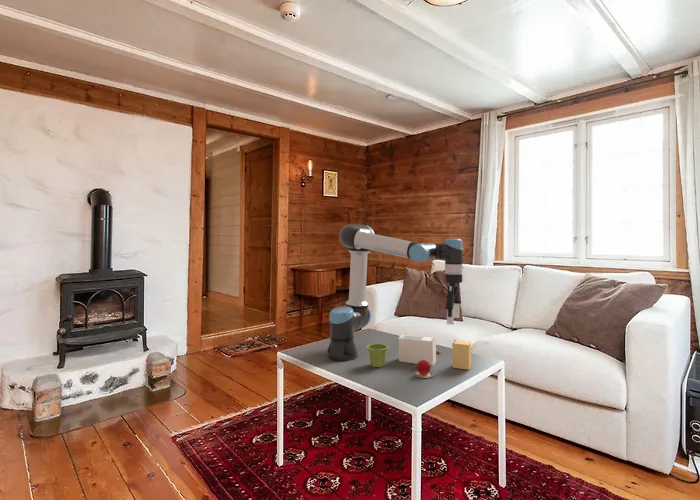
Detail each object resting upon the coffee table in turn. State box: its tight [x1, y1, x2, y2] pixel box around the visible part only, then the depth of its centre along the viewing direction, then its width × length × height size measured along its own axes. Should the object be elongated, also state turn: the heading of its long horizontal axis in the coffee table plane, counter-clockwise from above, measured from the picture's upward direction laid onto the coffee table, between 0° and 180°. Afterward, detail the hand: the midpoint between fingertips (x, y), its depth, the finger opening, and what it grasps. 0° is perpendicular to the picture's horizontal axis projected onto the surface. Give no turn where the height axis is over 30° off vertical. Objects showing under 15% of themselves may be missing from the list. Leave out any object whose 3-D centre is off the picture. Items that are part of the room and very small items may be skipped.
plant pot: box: [366, 343, 389, 368], centre depth 169 cm, size 9×9×9 cm
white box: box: [398, 334, 437, 367], centre depth 174 cm, size 16×6×11 cm, turn 64°
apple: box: [413, 360, 435, 379], centre depth 156 cm, size 8×8×6 cm
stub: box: [451, 339, 472, 371], centre depth 165 cm, size 7×6×11 cm
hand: (453, 320), depth 167 cm, fingers open, 13 cm apart
